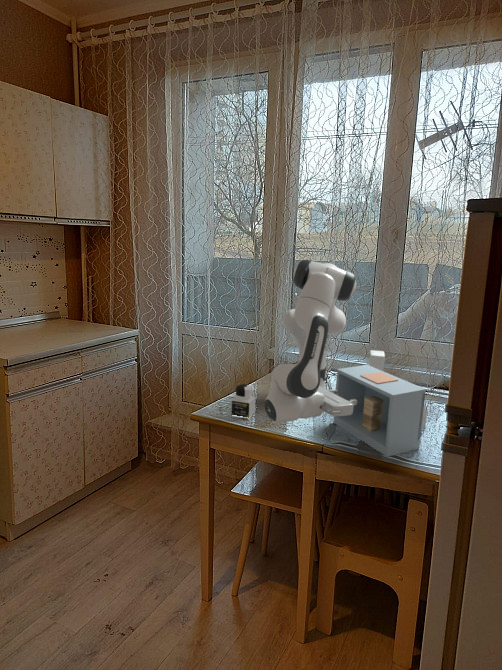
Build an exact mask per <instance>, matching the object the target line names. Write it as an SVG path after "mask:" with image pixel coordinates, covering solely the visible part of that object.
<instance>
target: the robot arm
mask: <svg viewBox="0 0 502 670" xmlns="http://www.w3.org/2000/svg"><path fill="white" fill-rule="evenodd" d="M292 278H293V281H292V282H293V284H294V285H295V286H296V287H297V288H298V289H300V290H301V292H300V294H299V297H298V299H297V301H296V305H295V307H294V308H291V309H288V310H287V311H286V313H284V317H283V320H282V321H283V327H284V329H285V330H286V332H287V333H288V334H289V335H291V336H292V337H293V338H294V340H295V341H296V343H297V347H298V353H299V355H298V356H299V360H298V362H296V363H280V364H277V365H276V366H275V367H274V368H273V369H272V370H271V373H270V385H269V386H270V387H269V391H268V394H267V396H266V398H265V399H264V402H263V403H264V404H263V405H264V407H263V408H264V410H265V413H266V415H267V417H268V418H269V419H270V420H271V421H273V422H276V423H286V422H287V423H288V422H295V421H297V420H300V419H310V418H315V417H319V416H322V415H323V413H324V412H325V413H327V414H328V415H330V416H332V417H334V416H347V415H352V413H353V406H354V405H357V400H355V399H350V401H347V400H345V399H343V398H341V397H339V391H338V390H336V389H326V379H327V373H328V372H327V370H328V369H327V366H326V363H327V349H326V344H327V340H328V336H329V335H337V334H340V333H342V332H343V331H344V329H345V328H346V327H347V326H346V325H347V318H346V314H345V313H344V312H343V311H342V310H341V309H340V308H338V307H337V306H336V301H342V302H345V301H349V300H350V298H351V297H352V296H353V295H354V293H355V292H356V288H357V277H356V275H355V274H354V273H352V271H349V270H345V269H342V268H340V267H338V266H337V265H335V264H333V263H329V262H325V263H323V262H317V261H312V259H302V260H300V261H299V262H298V264H297V265H296V266H295V268H294V270H293V275H292Z"/></svg>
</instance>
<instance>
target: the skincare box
mask: <svg viewBox="0 0 502 670" xmlns="http://www.w3.org/2000/svg"><path fill="white" fill-rule="evenodd" d="M385 360H386V353H385V351H383V350H374V349H371V350H369V360H368V365H369V366H371V367H374V368H376V369H379V370H381V371H383V372H384V368H385Z"/></svg>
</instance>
